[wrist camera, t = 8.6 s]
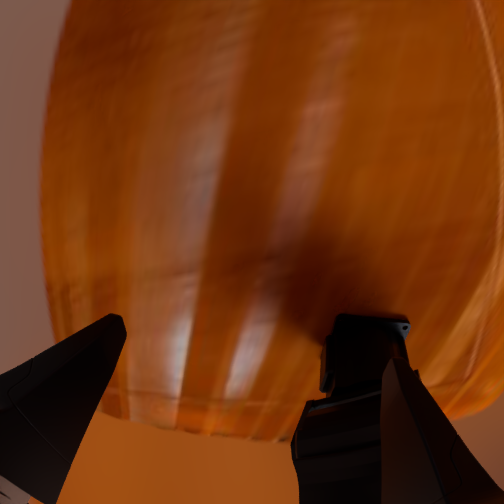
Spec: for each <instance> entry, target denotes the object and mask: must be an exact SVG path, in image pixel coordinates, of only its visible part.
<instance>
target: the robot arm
mask: <svg viewBox="0 0 504 504" xmlns="http://www.w3.org/2000/svg"><path fill="white" fill-rule="evenodd" d="M339 320H343V321H339ZM403 326H405V327H403ZM410 328H411V326H410V322H409V321H408V320H399V319H388V318H377V317H367V316H357V315H347V314H339V315H337V316H336V318H335V322H334V326H333V329H332V333H331V335H328V336H326V339H325V343H324V346H323V350H322V354H321V368H320V386H319V390H320V391H321V392H322V393H326V398H323V399H319V400H309V401H307V402H306V405H305V407H304V410H303V412H302V415H301V418H300V420H299V423H298V425H297V428H296V430H295V433H294V435H293V438H292V441H291V453H292V460H293V464H294V467H295V470H296V473H297V477H298V484H299V504H504V491H503V490H502V489H501V488H500V487H499V486H498V485H497V484H496V483H495V482H494V480H493V479H492V478H491V477H490V476H489V474H488V473H487V472H486V471H485V469H484V468H483V467H482V466H481V465H480V463H479V462H478V461H477V460H476V458H475V457H474V456H473V454H472V453H471V452H470V451H469V449H468V448H467V446H466V445H465V443H464V442H463V440H462V439H461V437H460V436H459V435H457V432H456V430H455V429H454V427H453V426H452V424H451V423H450V421H449V420H448V418H447V417H446V416H445V414H444V413H443V411H442V410H441V408H440V407H439V406H438V404H437V403H436V401H435V400H434V399H433V397H432V396H431V394H430V393H429V392H428V390H427V389H426V387H425V386H424V385H423V383H422V381H421V378H420V374H419V371H418V369H417V370H414V371H413V370H412V368H411V367H410V364H409V359H408V354H407V350H406V345H405V339H406V337H407V335H408V332H409V330H410ZM126 337H127V332H126V328H125V325H124V322H123V318H122V317H121V316H120V315H117V314H113V313H110V314H108V315H106V316H105V317H103V318H101V319H99V320H97V321H96V322H94V323H92V324H90V325H89V326H87V327H85V328H83V329H82V330H80V331H78V332H76V333H75V334H73V335H71V336H69V337H68V338H66V339H64V340H62V341H61V342H59V343H57V344H55V345H54V346H52V347H50V348H49V349H47V350H45V351H43V352H42V353H40V354H38V355H37V356H35V357H34V358H31V359H29V360H28V361H26V362H24V363H23V364H21V365H19V366H17V367H15V368H13V369H11V370H9V371H7V372H5V373H3V374H1V375H0V504H28V501H29V499H30V497H31V496H32V497H34V498H35V499H37V500H39V501H40V502H42V503H44V504H56V502H57V500H58V497H59V494H60V492H61V489H62V487H63V484H64V482H65V479H66V477H67V474H68V472H69V470H70V467H71V464H72V462H73V459H74V457H75V455H76V453H77V450H78V448H79V446H80V443H81V441H82V439H83V437H84V434H85V432H86V430H87V428H88V425H89V423H90V421H91V419H92V417H93V414H94V412H95V410H96V408H97V406H98V404H99V402H100V400H101V397H102V395H103V393H104V391H105V389H106V387H107V385H108V383H109V381H110V379H111V377H112V375H113V372H114V370H115V367H116V364H117V362H118V359H119V356H120V353H121V351H122V348H123V345H124V343H125V340H126Z"/></svg>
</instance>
